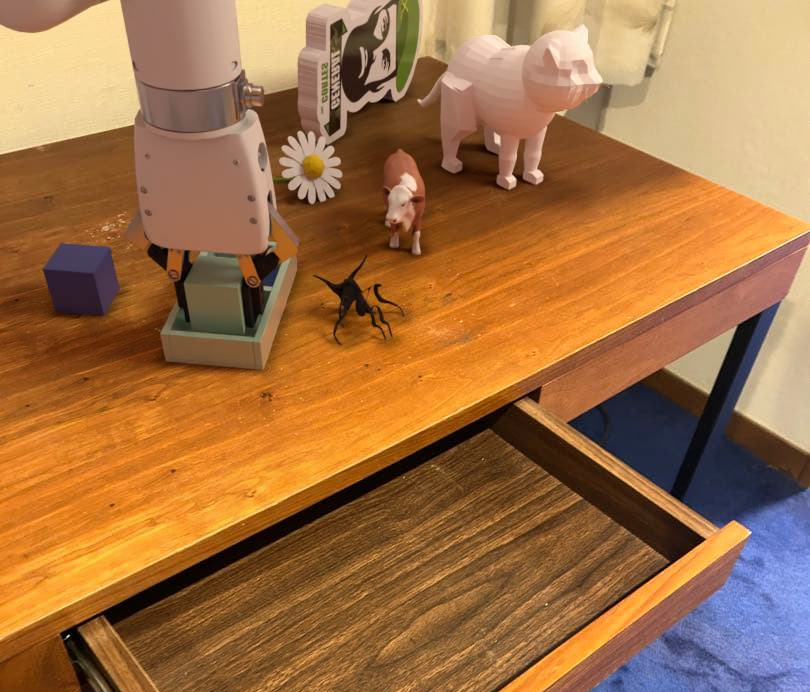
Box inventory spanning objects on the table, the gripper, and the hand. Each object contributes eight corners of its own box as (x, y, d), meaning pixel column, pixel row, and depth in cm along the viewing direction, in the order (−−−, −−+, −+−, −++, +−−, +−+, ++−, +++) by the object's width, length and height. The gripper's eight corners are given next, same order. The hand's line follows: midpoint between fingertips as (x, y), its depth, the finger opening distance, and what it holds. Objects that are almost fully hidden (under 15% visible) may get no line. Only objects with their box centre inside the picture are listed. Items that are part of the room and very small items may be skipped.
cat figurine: (385, 149, 104) (388, -7, 92) (442, 125, 110) (452, -26, 97) (549, 223, 93) (578, 58, 81) (603, 193, 99) (638, 33, 86)
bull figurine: (379, 274, 85) (380, 195, 79) (382, 209, 94) (384, 133, 88) (423, 275, 85) (427, 196, 79) (422, 210, 94) (426, 135, 88)
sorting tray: (166, 363, 74) (159, 333, 72) (212, 265, 85) (208, 236, 83) (263, 372, 74) (260, 342, 72) (297, 272, 85) (295, 243, 83)
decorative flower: (200, 121, 91) (341, 124, 92) (210, 144, 97) (342, 147, 98) (201, 196, 91) (341, 199, 92) (211, 214, 98) (343, 216, 98)
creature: (418, 337, 80) (367, 284, 83) (430, 293, 76) (375, 239, 78) (352, 368, 77) (300, 312, 79) (360, 324, 72) (305, 266, 75)
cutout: (310, 28, 93) (423, -45, 106) (289, 23, 93) (404, -49, 107) (321, 163, 105) (422, 82, 118) (302, 157, 105) (404, 78, 119)
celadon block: (191, 330, 74) (183, 283, 71) (204, 301, 77) (197, 254, 74) (244, 335, 74) (238, 287, 70) (255, 305, 77) (250, 258, 73)
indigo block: (55, 314, 79) (41, 268, 75) (73, 287, 82) (60, 242, 78) (104, 318, 79) (93, 273, 75) (120, 291, 82) (110, 246, 78)
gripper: (316, 87, 64) (325, 301, 77) (95, 71, 65) (142, 286, 78) (299, 128, 59) (311, 349, 72) (58, 110, 60) (115, 333, 73)
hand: (223, 314), depth 75 cm, fingers closed on celadon block, 4 cm apart
